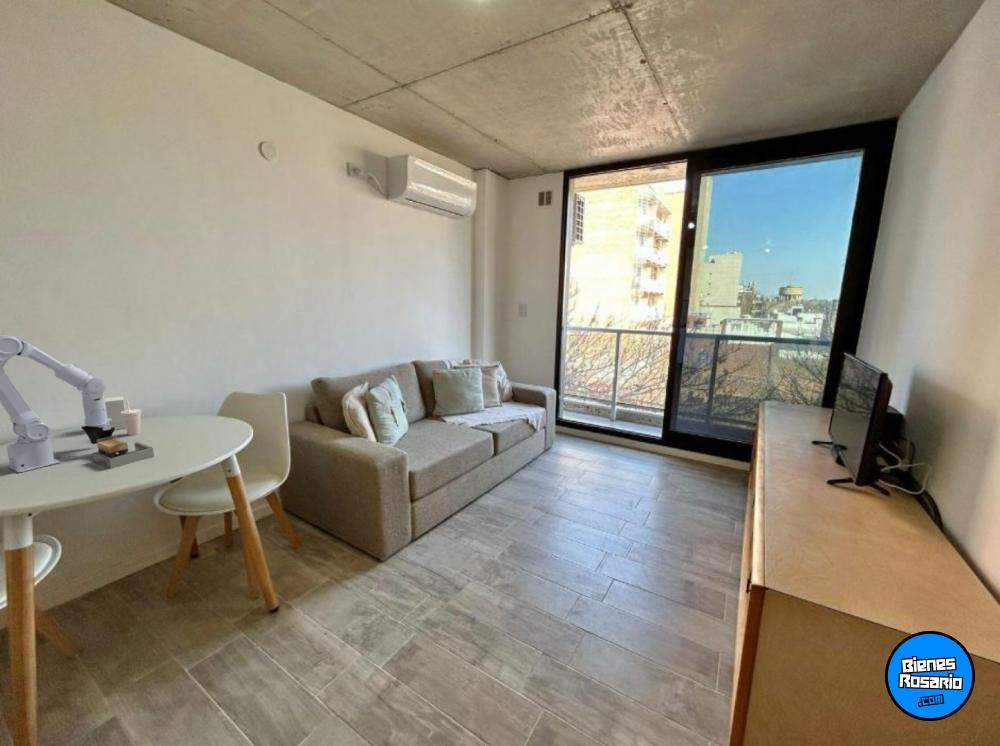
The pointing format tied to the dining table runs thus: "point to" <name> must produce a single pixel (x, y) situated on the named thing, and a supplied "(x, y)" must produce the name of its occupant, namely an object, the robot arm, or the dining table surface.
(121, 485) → the dining table surface
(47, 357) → the robot arm
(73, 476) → the dining table surface
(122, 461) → the dock
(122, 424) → the supplement box
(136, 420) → the smoothie
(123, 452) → the trolley
